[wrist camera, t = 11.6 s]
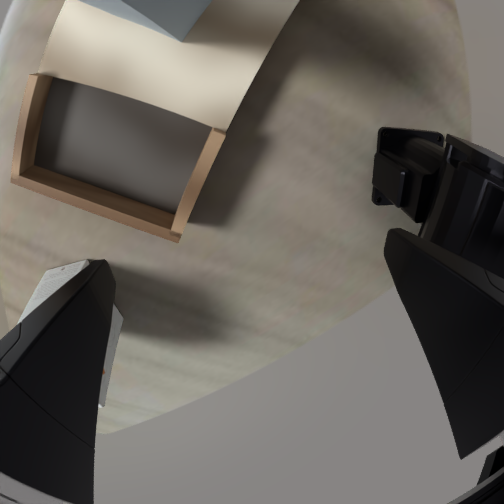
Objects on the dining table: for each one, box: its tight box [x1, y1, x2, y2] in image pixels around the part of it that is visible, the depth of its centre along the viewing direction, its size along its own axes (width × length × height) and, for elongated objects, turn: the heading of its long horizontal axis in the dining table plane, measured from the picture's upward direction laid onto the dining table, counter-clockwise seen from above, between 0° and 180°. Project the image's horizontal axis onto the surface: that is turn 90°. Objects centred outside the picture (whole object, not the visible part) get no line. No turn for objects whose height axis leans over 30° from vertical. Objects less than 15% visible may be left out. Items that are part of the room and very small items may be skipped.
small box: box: [17, 260, 123, 407], centre depth 21 cm, size 8×6×10 cm
